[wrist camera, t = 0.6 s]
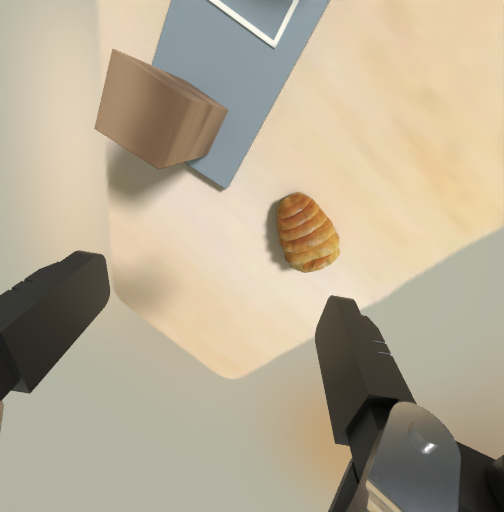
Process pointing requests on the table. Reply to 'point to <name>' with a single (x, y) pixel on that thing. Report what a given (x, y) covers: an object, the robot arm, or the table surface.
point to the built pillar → (156, 113)
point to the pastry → (306, 234)
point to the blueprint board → (235, 64)
